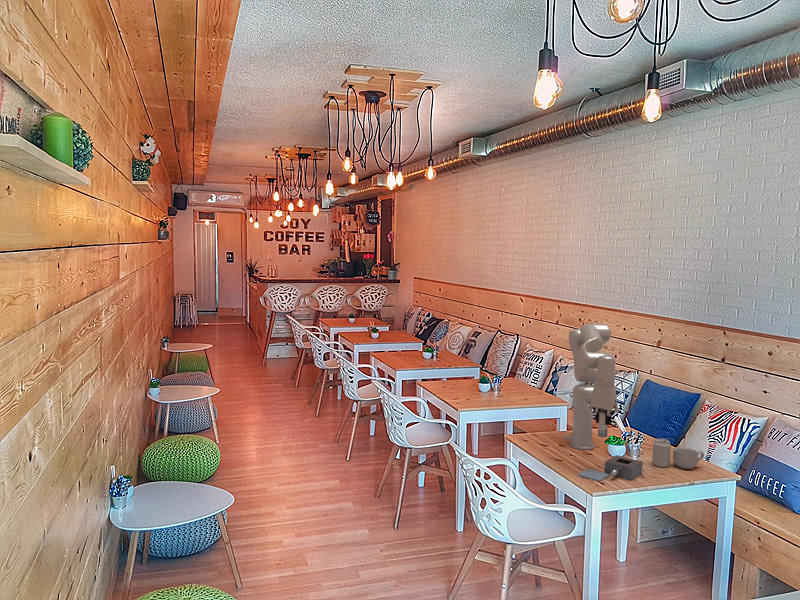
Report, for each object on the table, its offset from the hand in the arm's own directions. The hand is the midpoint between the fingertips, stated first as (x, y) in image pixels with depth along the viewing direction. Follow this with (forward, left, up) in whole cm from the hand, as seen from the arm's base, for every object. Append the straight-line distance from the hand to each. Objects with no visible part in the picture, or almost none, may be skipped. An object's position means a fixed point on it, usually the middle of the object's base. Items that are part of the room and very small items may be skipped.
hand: (603, 423), depth 271 cm
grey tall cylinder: (0, 0, -6) cm, 6 cm away
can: (+17, +27, -22) cm, 39 cm away
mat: (+1, -10, -21) cm, 24 cm away
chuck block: (+9, 0, -21) cm, 23 cm away
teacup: (+27, +34, -22) cm, 49 cm away
